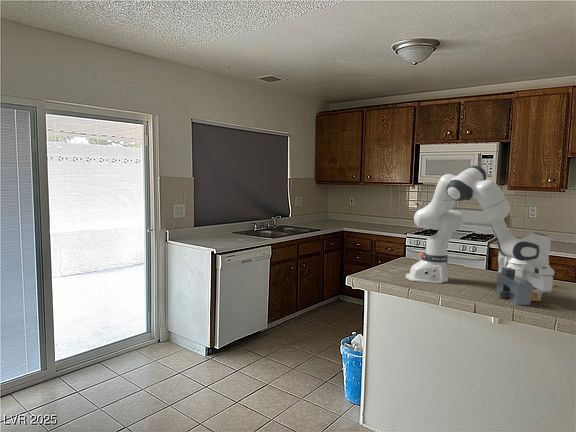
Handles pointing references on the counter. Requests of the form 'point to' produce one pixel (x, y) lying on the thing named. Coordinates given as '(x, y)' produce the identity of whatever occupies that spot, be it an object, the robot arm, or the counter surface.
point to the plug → (507, 294)
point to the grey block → (514, 286)
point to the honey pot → (517, 266)
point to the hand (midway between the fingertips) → (534, 296)
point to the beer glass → (503, 261)
